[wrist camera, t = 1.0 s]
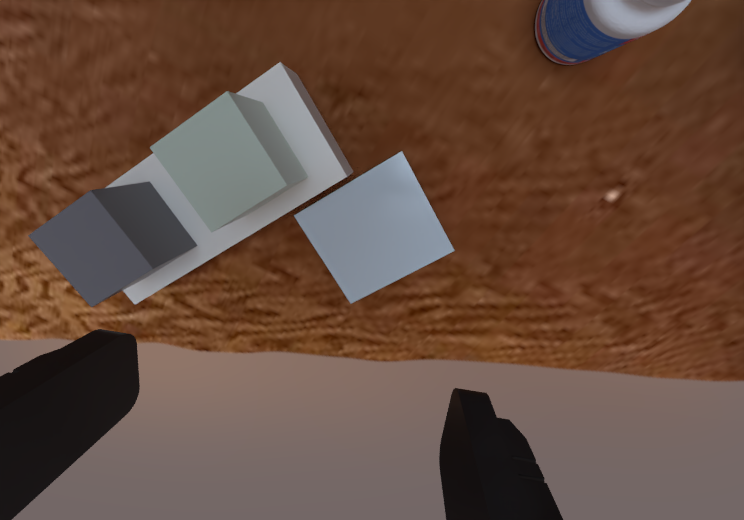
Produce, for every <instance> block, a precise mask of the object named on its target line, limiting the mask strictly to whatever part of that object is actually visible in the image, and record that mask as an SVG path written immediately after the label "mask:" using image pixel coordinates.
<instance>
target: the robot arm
mask: <svg viewBox="0 0 744 520" xmlns="http://www.w3.org/2000/svg"><path fill="white" fill-rule="evenodd" d="M138 393H139V371H138V355H137V342H136V339H135V337H134V336H133V335H131V334H126V333H120V332H114V331H108V330H102V329H98V330H94V331H92V332H90V333H88V334H87V335H85V336H83V337H81V338H79V339H77V340H75V341H74V342H72V343H70V344H68V345H67V346H65V347H63V348H61V349H58V350H55V351H52V352H49V353H47V354H43V355H40V356H38V357H36V358H34V359H32V360H31V361H29V362H27V363H25V364H23V365H21V366H20V367H17V368H16V369H14V370H13V372H12V373H6V374H4V375H3V376H0V520H12V519H13V518H14V517H15V516H16V515H17V514H18V513H19V512H20V511H21V510H23V509H24V508H25V507H26V506H27V505H28V504H29V503H30V502H31V501H32V500H33V499H35V497H37V496H38V495H39V494H40V493H41V492H42V491H43V490H44V489H46V488H47V487H48V486H49V485H50V484H51V483H52V482H53V481H54V480H55V479H56V478H58V477H59V476H60V475H61V474H62V473H63V472H64V471H65V470H66V469H67V468H69V466H71V465H72V464H73V463H74V462H75V461H76V460H77V459H78V458H79V457H80V456H82V455H83V454H84V453H85V452H86V451H87V450H88V449H89V448H90V447H92V446H93V445H94V444H95V443H96V442H97V441H98V440H99V439H100V438H101V437H102V436H104V435H105V434H106V433H107V432H108V431H109V430H110V429H111V428H112V427H113V426H114V425H116V424H117V423H118V422H119V421H120V420H121V419H122V418H123V417H124V416H125V415H126V414H127V413H128V412H129V411H130V410H131V409H132V407H133V406H134V404H135V402H136V400H137V397H138ZM439 460H440V461H439V462H440V474H441V482H442V490H443V497H444V505H445V512H446V520H563V518H562V516H561V514H560V512H559V510H558V507H557V505H556V503H555V501H554V499H553V496H552V494H551V492H550V490H549V488H548V485H547V483H544V477H543V474H542V472H541V470H540V468H539V466H538V464H536V459H535V457H534V455H533V452H532V450H531V448H530V446H529V444H528V442H527V439H526V438H525V437H524V436H523V435H522V433H521V432H520V431H519V430H518V429H517V428H516V427H515V426H514V425H513V424H512V422H511V421H510V420H508V419H502V418H497V417H496V415H495V412H494V409H493V406H492V404H491V401H490V398H489V396H488V395H487V393H482V392H476V391H470V390H464V389H458V388H455V389H454V390H453V392H452V395H451V399H450V404H449V408H448V412H447V416H446V421H445V425H444V430H443V434H442V438H441V444H440V457H439Z"/></svg>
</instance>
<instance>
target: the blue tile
mask: <svg viewBox="0 0 744 520" xmlns="http://www.w3.org/2000/svg"><path fill="white" fill-rule="evenodd" d="M294 217H295V218H296V220H297V222H298V223H299V225H300V226H301V228H302V229H303V231H304V232H305V234H306V235H307V237H308V238H309V240H310V242H311V243H312V245H313V246H314V248H315V249H316V251H317V252H318V254H319V255H320V257H321V259H322V260H323V262H324V263H325V265H326V266H327V268H328V269H329V271H330V272H331V274H332V275H333V277H334V279H335V280H336V282H337V283H338V285H339V286H340V288H341V289H342V291H343V292H344V294H345V296H346V297H347V299H348V300H349V302H350V303H353V302H355V301H357V300H359V299H361V298H363V297H365V296H367V295H369V294H371V293H373V292H375V291H377V290H379V289H381V288H383V287H385V286H387V285H389V284H390V283H392V282H394V281H396V280H398V279H400V278H402V277H404V276H406V275H408V274H410V273H412V272H414V271H416V270H418V269H420V268H422V267H424V266H426V265H428V264H430V263H432V262H434V261H436V260H437V259H439V258H441V257H443V256H445V255H447V254H449V253H451V252H453V251H454V249H453V247H452V245H451V243H450V241H449V239H448V237H447V236H446V234H445V232H444V230H443V228H442V226H441V224H440V222H439V220H438V219H437V217H436V215H435V213H434V211H433V209H432V207H431V205H430V203H429V202H428V200H427V198H426V196H425V194H424V192H423V190H422V188H421V187H420V185H419V183H418V181H417V179H416V177H415V175H414V173H413V171H412V170H411V168H410V166H409V164H408V162H407V160H406V158H405V156H404V154H403V153H402V151H401V152H399V153H398V154H396V155H394V156H392V157H391V158H389V159H387V160H386V161H384V162H382V163H381V164H379V165H377V166H376V167H374V168H372V169H371V170H369V171H367V172H366V173H364V174H362V175H361V176H359V177H357V178H356V179H354V180H352V181H351V182H349V183H347V184H346V185H344V186H342V187H341V188H339V189H337V190H336V191H334V192H332V193H331V194H329V195H327V196H326V197H324V198H322V199H321V200H319V201H317V202H316V203H314V204H312V205H311V206H309V207H307V208H306V209H304V210H302V211H300V212H299V213H297V214H295V215H294Z"/></svg>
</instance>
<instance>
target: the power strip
mask: <svg viewBox="0 0 744 520" xmlns="http://www.w3.org/2000/svg"><path fill="white" fill-rule="evenodd" d="M236 94H238V95H241V96H244V97H247V98H251V99H254V100H257V101H260V102H263V104H264V105H265V107H266V108H267V110H268V112H269V113H270V115H271V117H272V118H273V120H274V121H275V123H276V125H277V126H278V128H279V129H280V131H281V133H282V134H283V136H284V138H285V139H286V141H287V142H288V144H289V146H290V147H291V149H292V151H293V152H294V154H295V155H296V157H297V159H298V160H299V162H300V164H301V165H302V167H303V168H304V170H305V172H306V173H307V175H308V178H306V179H305V180H303V181H301V182H300V183H298V184H296V185H295V186H293V187H292V188H290V189H288V190H287V191H285V192H284V193H282V194H280V195H279V196H277V197H276V198H274V199H272V200H271V201H269V202H267V203H266V204H264V205H263V206H261V207H259V208H258V209H256V210H255V211H253V212H251V213H250V214H248V215H246V216H244V217H242V218H240V219H238V220H236V221H234V222H232V223H230V224H228V225H226V226H224V227H222V228H220V229H218V230H216V231H214V232H211V231H210V230H209V229H208V227H207V226H206V224H205V223H204V222H203V220H202V219H201V218H200V216H199V215H198V213H197V212H196V211H195V209H194V208H193V207H192V205H191V204H190V202H189V201H188V200H187V198H186V197H185V196H184V194H183V193H182V191H181V190H180V189H179V187H178V186H177V185H176V183H175V182H174V180H173V179H172V178H171V176H170V175H169V174H168V172H167V171H166V169H165V168H164V167H163V165H162V164H161V163H160V161H159V160H158V158H157V157H156V156H155V154H154V153H153V154H151V155H150V156H149V157H147V158H146V159H145V160H143V161H142V162H140V163H139V164H138V165H136V166H135V167H133V168H132V169H131V170H129V171H128V172H126V173H125V174H124V175H122V176H121V177H120V178H118V179H117V180H115V181H114V182H113V183H111V184H110V185H108V186H107V187H106V188H109V187H116V186H123V185H129V184H136V183H142V182H149V181H150V183H151V184H152V185H153V187H154V188H155V189H156V191H157V192H158V193H159V195H160V196H161V197H162V199H163V200H164V201H165V203H166V204H167V205H168V207H169V208H170V209H171V211H172V212H173V213H174V215H175V216H176V217H177V219H178V220H179V221H180V223H181V224H182V225H183V227H184V228H185V229H186V231H187V232H188V233H189V235H190V236H191V237H192V239H193V240H194V241H195V243H196V244H197V246H196V247H195V248H193V249H192V250H190V251H188V252H187V253H185V254H184V255H182V256H180V257H179V258H177V259H175V260H174V261H172V262H171V263H169V264H167V265H166V266H164V267H163V268H161V269H159V270H158V271H156V272H154V273H153V274H151V275H150V276H148V277H146V278H145V279H143V280H141V281H139V282H137V283H136V284H134V285H132V286H130V287H128V288H126V289H124V290H123V291H124V292H125V294H126V295H127V296H128V297H129V298H130V299H131V301H132V302H133V303H134V304H137V303H138V302H140V301H142V300H143V299H145V298H147V297H148V296H150V295H152V294H153V293H155V292H157V291H158V290H160V289H162V288H163V287H165V286H167V285H168V284H170V283H172V282H173V281H175V280H177V279H178V278H180V277H182V276H183V275H185V274H187V273H188V272H190V271H192V270H193V269H195V268H196V267H198V266H200V265H201V264H203V263H205V262H206V261H208V260H210V259H211V258H213V257H215V256H216V255H218V254H220V253H221V252H223V251H225V250H226V249H228V248H230V247H231V246H233V245H235V244H236V243H238V242H240V241H241V240H243V239H245V238H246V237H248V236H250V235H251V234H253V233H255V232H256V231H258V230H260V229H261V228H263V227H265V226H266V225H268V224H269V223H271V222H273V221H274V220H276V219H278V218H279V217H281V216H283V215H284V214H286V213H288V212H289V211H291V210H293V209H294V208H296V207H298V206H299V205H301V204H303V203H304V202H306V201H308V200H309V199H311V198H313V197H314V196H316V195H318V194H319V193H321V192H323V191H324V190H326V189H328V188H329V187H331V186H333V185H334V184H336V183H337V182H339V181H341V180H342V179H344V178H346V177H347V176H349V175H350V174H352V173H353V170H352V168H351V166H350V165H349V163H348V161H347V159H346V158H345V156H344V154H343V153H342V151H341V149H340V147H339V146H338V144H337V142H336V140H335V139H334V137H333V135H332V134H331V132H330V130H329V128H328V127H327V125H326V123H325V121H324V120H323V118H322V116H321V114H320V113H319V111H318V109H317V108H316V106H315V104H314V102H313V101H312V99H311V97H310V95H309V94H308V92H307V90H306V89H305V87H304V85H303V83H302V82H301V80H300V78H299V76H298V75H297V74H296V73H295V72H293V71H292V70H291V69H289V68H288V67H286V66H285V65H284V64H282V63H281V62H279V63H278V64H277V65H275V66H274V67H272V68H271V69H270V70H268V71H267V72H265V73H264V74H263V75H261V76H260V77H259V78H257V79H256V80H254V81H253V82H252V83H250V84H249V85H247V86H246V87H245V88H243V89H242V90H240V91H239V92H238V93H236Z"/></svg>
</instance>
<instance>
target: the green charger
mask: <svg viewBox="0 0 744 520" xmlns="http://www.w3.org/2000/svg"><path fill="white" fill-rule="evenodd" d="M150 149H151V150H152V151H153V153H154V154H155V156H156V157H157V158H158V160H159V161H160V163H161V164H162V165H163V167H164V168H165V169H166V171H167V172H168V174H169V175H170V176H171V178H172V179H173V180H174V182H175V183H176V185H177V186H178V187H179V189H180V190H181V191H182V193H183V194H184V196H185V197H186V198H187V200H188V201H189V202H190V204H191V205H192V207H193V208H194V209H195V211H196V212H197V213H198V215H199V216H200V218H201V219H202V220H203V222H204V223H205V224H206V226H207V227H208V229H209V230H210V231H211V232H214V231H216V230H218V229H220V228H222V227H224V226H226V225H228V224H230V223H232V222H234V221H236V220H238V219H240V218H242V217H244V216H246V215H248V214H250V213H251V212H253V211H255V210H256V209H258V208H259V207H261V206H263V205H264V204H266V203H267V202H269V201H271V200H272V199H274V198H276V197H277V196H279V195H280V194H282V193H284V192H285V191H287V190H288V189H290V188H292V187H293V186H295V185H296V184H298V183H300V182H301V181H303V180H305V179H306V178H308V175H307V173H306V172H305V170H304V168H303V167H302V165H301V164H300V162H299V160H298V159H297V157H296V155H295V154H294V152H293V151H292V149H291V147H290V146H289V144H288V142H287V141H286V139H285V138H284V136H283V134H282V133H281V131H280V129H279V128H278V126H277V125H276V123H275V121H274V120H273V118H272V117H271V115H270V113H269V112H268V110H267V108H266V107H265V105H264V104H263V102H260V101H257V100H254V99H251V98H247V97H244V96H241V95H238V94H235V93H232V92H229V91H227V92H225V93H224V94H223V95H221V96H220V97H218V98H217V99H216V100H214V101H213V102H212V103H210V104H209V105H207V106H206V107H205V108H203V109H202V110H201V111H199V112H198V113H196V114H195V115H194V116H192V117H191V118H190V119H188V120H187V121H185V122H184V123H183V124H181V125H180V126H179V127H177V128H176V129H174V130H173V131H172V132H170V133H169V134H167V135H166V136H165V137H163V138H162V139H161V140H159V141H158V142H156V143H155V144H154V145H152V146H151V147H150Z"/></svg>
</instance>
